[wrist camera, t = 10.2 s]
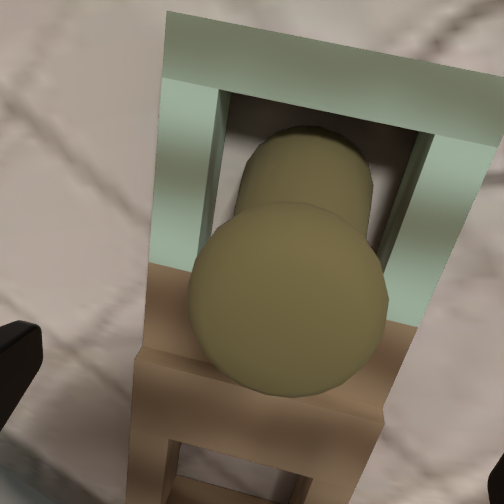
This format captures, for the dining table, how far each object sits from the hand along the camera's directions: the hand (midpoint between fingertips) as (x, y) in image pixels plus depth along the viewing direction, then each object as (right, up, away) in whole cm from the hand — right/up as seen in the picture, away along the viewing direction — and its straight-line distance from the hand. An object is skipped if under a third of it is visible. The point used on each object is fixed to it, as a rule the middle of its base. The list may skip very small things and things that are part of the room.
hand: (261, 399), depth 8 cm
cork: (+2, +6, +12) cm, 13 cm away
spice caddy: (+1, -2, +16) cm, 16 cm away
